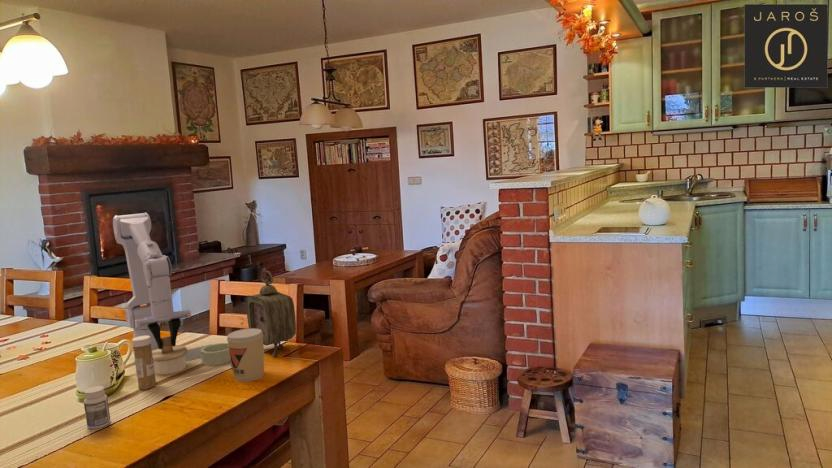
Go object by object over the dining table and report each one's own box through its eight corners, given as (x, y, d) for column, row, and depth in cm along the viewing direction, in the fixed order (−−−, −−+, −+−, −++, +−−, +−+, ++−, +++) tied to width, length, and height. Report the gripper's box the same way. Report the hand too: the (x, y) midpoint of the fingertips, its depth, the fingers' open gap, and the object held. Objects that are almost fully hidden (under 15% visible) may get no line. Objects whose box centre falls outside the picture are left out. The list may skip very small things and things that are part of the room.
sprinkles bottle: (158, 386, 158) (152, 337, 156) (139, 391, 155) (133, 341, 154) (155, 382, 162) (148, 333, 160) (136, 386, 159) (130, 337, 157)
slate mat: (176, 353, 186) (175, 352, 186) (211, 345, 193) (211, 344, 193) (186, 362, 177) (186, 361, 177) (223, 353, 183) (223, 352, 183)
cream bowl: (149, 369, 172) (147, 356, 172) (181, 362, 177) (180, 349, 177) (156, 377, 165) (154, 363, 164) (190, 369, 170) (188, 355, 170)
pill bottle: (92, 421, 138) (88, 386, 137) (114, 419, 138) (109, 384, 137) (83, 430, 133) (78, 394, 132) (105, 428, 134) (100, 392, 133)
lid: (146, 354, 173) (144, 337, 172) (184, 346, 178) (183, 330, 177) (149, 363, 164) (147, 346, 163) (189, 356, 168) (187, 338, 168)
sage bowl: (196, 363, 176) (194, 349, 175) (223, 354, 182) (221, 341, 182) (213, 368, 170) (211, 354, 169) (240, 358, 177) (239, 345, 176)
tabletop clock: (250, 350, 185) (242, 270, 182) (277, 343, 190) (269, 265, 187) (273, 359, 174) (264, 275, 171) (300, 351, 180) (292, 269, 176)
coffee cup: (224, 378, 161) (219, 334, 159) (255, 368, 168) (250, 326, 166) (243, 385, 154) (238, 340, 153) (274, 374, 161) (269, 331, 160)
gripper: (136, 307, 161) (142, 356, 163) (191, 297, 170) (196, 343, 171) (131, 303, 167) (137, 350, 169) (184, 293, 175) (190, 338, 177)
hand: (166, 346), depth 170 cm, fingers closed on lid, 3 cm apart
